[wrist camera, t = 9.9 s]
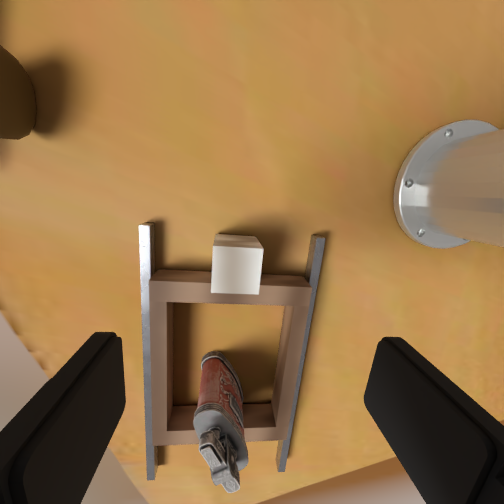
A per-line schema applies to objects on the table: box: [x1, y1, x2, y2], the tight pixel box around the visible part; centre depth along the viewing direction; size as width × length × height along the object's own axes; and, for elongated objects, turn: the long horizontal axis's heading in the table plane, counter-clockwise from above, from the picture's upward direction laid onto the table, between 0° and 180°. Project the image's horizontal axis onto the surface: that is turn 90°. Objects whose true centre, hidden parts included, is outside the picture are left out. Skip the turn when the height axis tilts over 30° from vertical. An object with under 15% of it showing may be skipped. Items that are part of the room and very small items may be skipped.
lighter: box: [193, 351, 248, 493], centre depth 23 cm, size 8×3×10 cm, turn 22°
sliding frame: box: [149, 234, 312, 446], centre depth 24 cm, size 15×23×5 cm, turn 175°
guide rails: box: [139, 223, 326, 480], centre depth 27 cm, size 18×32×2 cm, turn 175°
